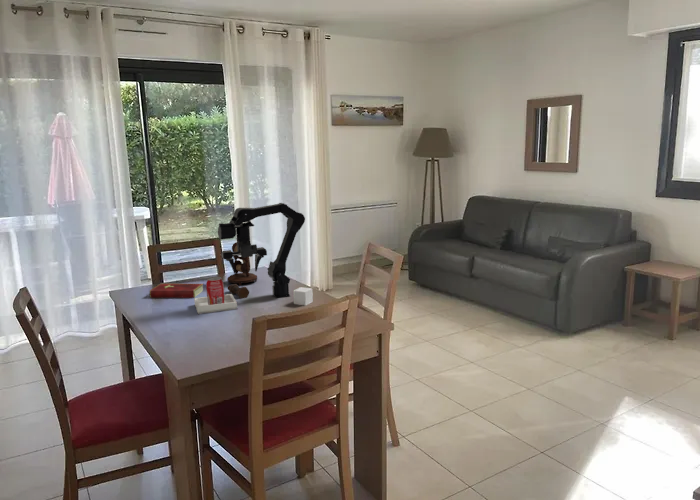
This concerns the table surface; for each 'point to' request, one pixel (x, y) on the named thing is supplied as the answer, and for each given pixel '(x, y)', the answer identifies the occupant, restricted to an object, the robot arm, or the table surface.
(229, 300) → the tray
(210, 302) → the soda can
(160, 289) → the hardcover book
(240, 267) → the brown round based stand
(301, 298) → the white cube
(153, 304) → the table surface
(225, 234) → the robot arm
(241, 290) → the bolt
